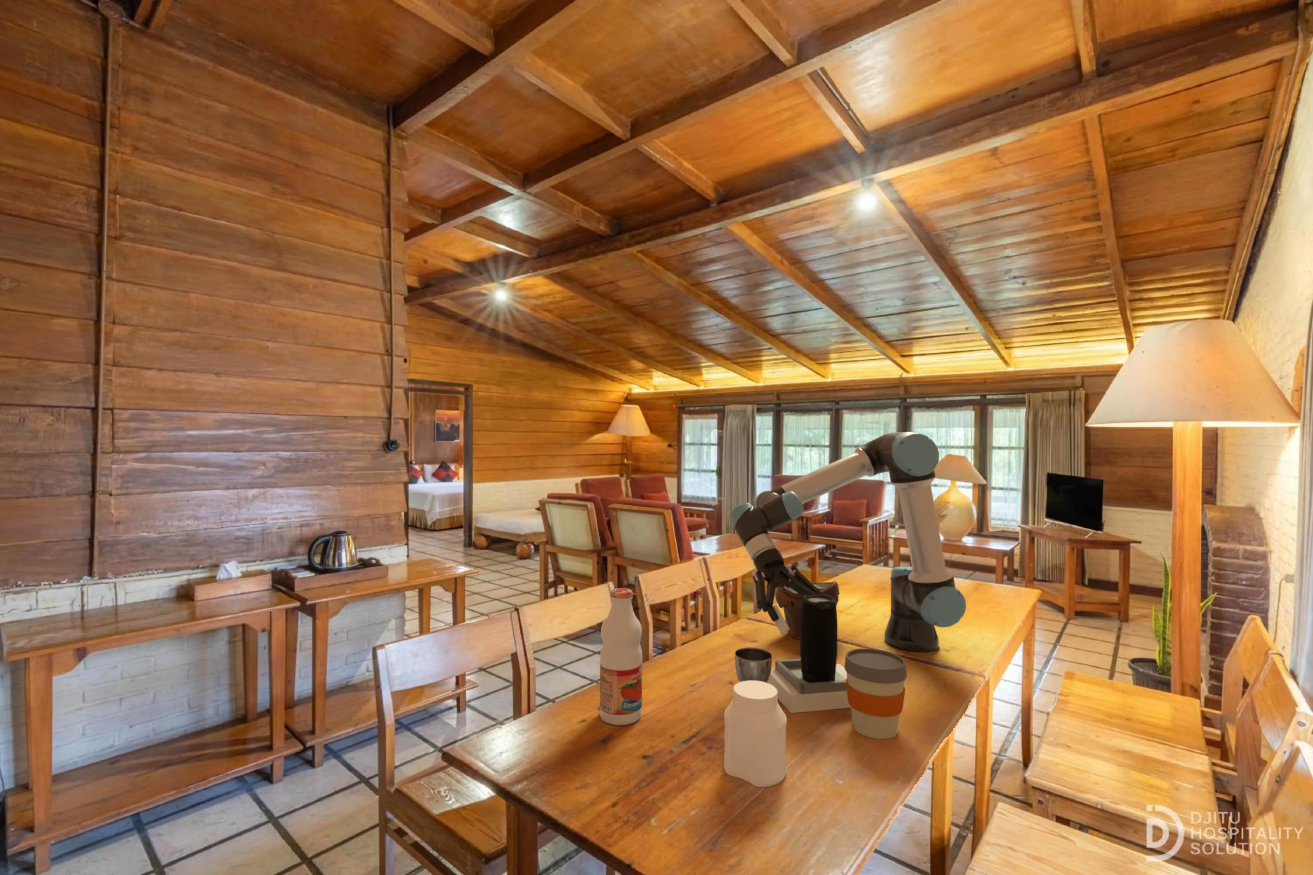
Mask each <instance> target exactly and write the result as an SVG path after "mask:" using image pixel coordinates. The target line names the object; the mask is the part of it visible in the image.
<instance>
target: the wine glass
mask: <svg viewBox="0 0 1313 875" xmlns="http://www.w3.org/2000/svg"><path fill="white" fill-rule="evenodd" d="M772 661H773V655H772V653H771V652H770V651H769V650H766V649H764V648H760V647H752V646H751V647H750V646H749V647H741V648H738V649H736V650H735V652H734V662H735V663H734V666H735V672H736V676H737V680H738V682H742V681H750V680H753V681H762V682H766V683H767V682H768V680H769V678H770V674H771V669H772V667H773V666H772V665H773V662H772Z"/></svg>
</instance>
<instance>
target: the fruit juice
mask: <svg viewBox="0 0 1313 875" xmlns="http://www.w3.org/2000/svg"><path fill="white" fill-rule="evenodd" d="M633 595H634V593H633V590H632V589H630V588H625V587H620V588H619V587H617V588H614V589H611V590H610V599H611V605H610V609H609V612H608V615H607V617H606V618H605V619H604V621H603V622H602V624H601V628H600V637H601V639H602V640H601V641H602V647H601V648H600V652H599V653H600V654H599V655H600V656H599V716H600V718H601V720H602V721H603V722H605V723H606V724H609V725H612V726H627V725H632V724H634V723H636V722H638V721H639V720H640V719H641V716H642V714H643V650H642V647H641V643H640V641H641V638H642V634H643V630H642V628H643V627H642V624H641V622H640V620H639V619H638V618H637V616H636V614H635V612H634V608H633V604H632V599H633Z"/></svg>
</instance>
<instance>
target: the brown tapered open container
mask: <svg viewBox="0 0 1313 875" xmlns="http://www.w3.org/2000/svg"><path fill="white" fill-rule="evenodd" d="M789 581H790V579H789ZM810 582H811V583H812V584H813V585H814V586H815V587H817V588H818V589H819V590H820V591H821V594H826V595H830V596H833V598H834V599H835V601H836V607H837V605H838V603H839V601H840V599H839V598H840V597H839V596H840V594H841V593H840V588H839V584H838V581H836V580H835V581H832V582H831V581H827V582H812V581H810ZM776 589H777V590H776V591H775V600H776V603H777V606H778V608H779V609H783V613H784V619H785V621H786V623H787V625H788V627H789V630H788V631H787V633H788V636H790V637H792V638H793V639H796V640H800V624H801V610H802V603H803V596H801V595H800V594H799V593H797V592H796V591H794V590H793V589H791V588H787V587H786V586H785V587H778V588H776Z"/></svg>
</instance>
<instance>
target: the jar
mask: <svg viewBox="0 0 1313 875" xmlns="http://www.w3.org/2000/svg"><path fill="white" fill-rule="evenodd" d="M732 692H733V693H732V694H733V695H732V700H731V702H730V703H729V705H728V706H727V707H726V709H725V710H724V714H723V716H724V718H723V719H724V757H723V769H724V771H725V773H726V775H728V776H730V777H733V778H734V777H735V778H738V779H740V780H743V781H746V782H747V783H749V784H750V785H752V786H753V787H754V786H755V787H757V788H767V787H772V786H775V785H778V784H779V783H781V782H782V781H783V780H784V779H785V777H786V775H787V762H786V758H787V756H786V754H787V748H786V747H787V746H786V744H787V742H786V741H787V721H788V720H787V715H786V714H785V712H784V711H783V709H782V708H781V706H780V704H779V703H778V702H779V701H778V700H779V699H778V696H777V695H778V691H777V689H776V688H775V687H774V686H773V685H771V684H769V683H766V682H762V681H753V680H750V681H742V682H740V681H738V682H737V683H735V684H734V686H733V691H732Z"/></svg>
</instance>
